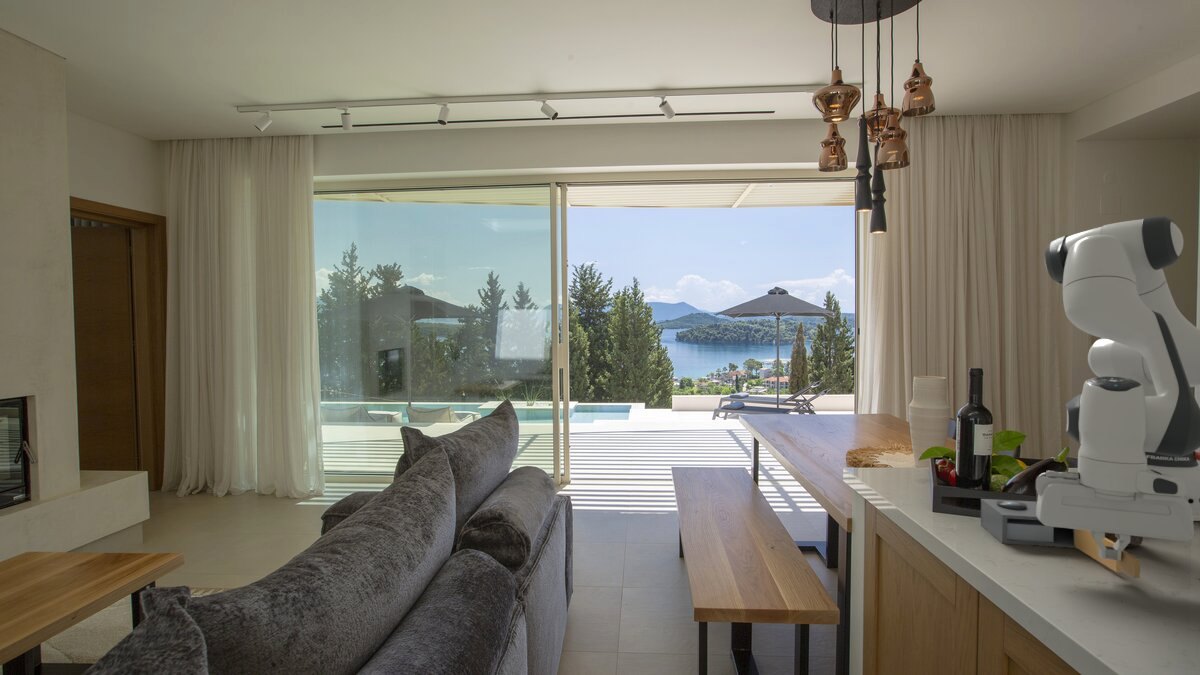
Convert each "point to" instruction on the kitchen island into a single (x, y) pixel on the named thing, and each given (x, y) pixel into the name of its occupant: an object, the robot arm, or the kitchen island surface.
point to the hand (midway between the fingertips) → (1109, 558)
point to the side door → (1090, 547)
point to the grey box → (1021, 524)
